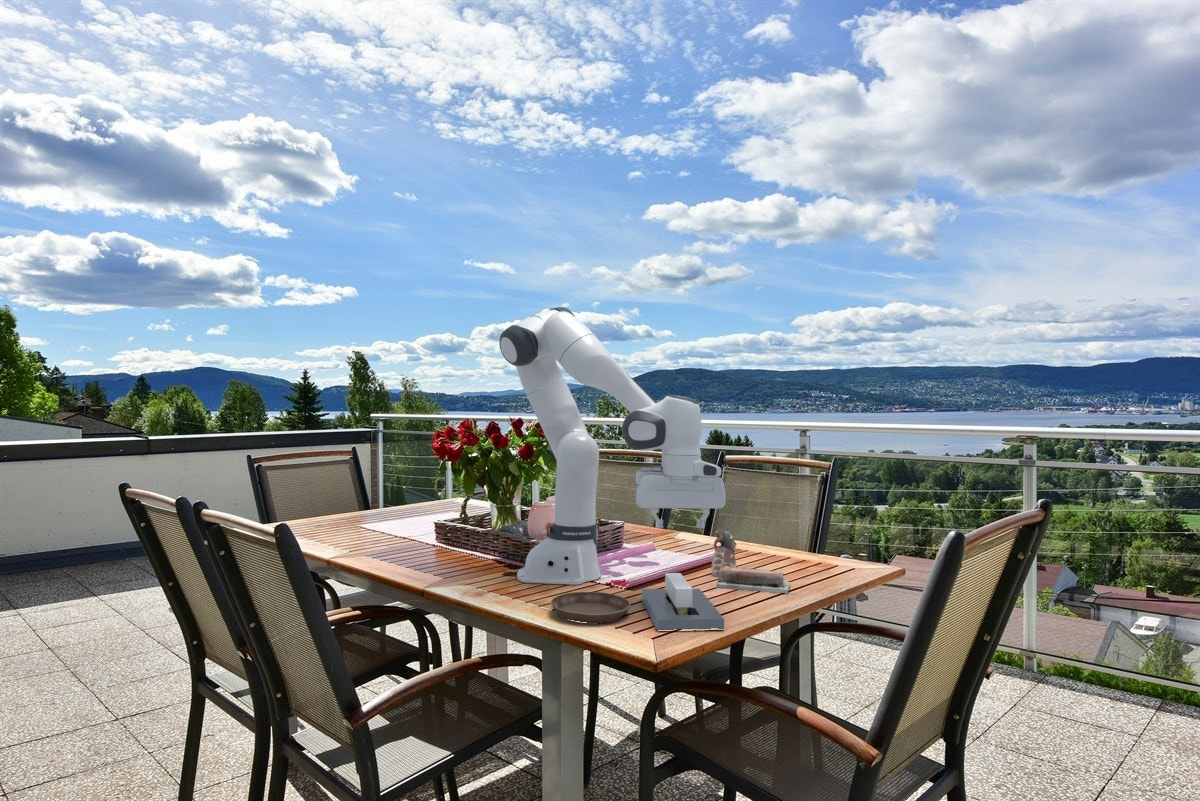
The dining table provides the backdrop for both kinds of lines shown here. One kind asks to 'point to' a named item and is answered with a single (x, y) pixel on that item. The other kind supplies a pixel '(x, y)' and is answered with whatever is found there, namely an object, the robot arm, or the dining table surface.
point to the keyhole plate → (666, 618)
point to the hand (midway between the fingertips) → (679, 527)
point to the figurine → (723, 552)
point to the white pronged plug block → (678, 592)
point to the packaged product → (752, 580)
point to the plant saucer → (590, 606)
